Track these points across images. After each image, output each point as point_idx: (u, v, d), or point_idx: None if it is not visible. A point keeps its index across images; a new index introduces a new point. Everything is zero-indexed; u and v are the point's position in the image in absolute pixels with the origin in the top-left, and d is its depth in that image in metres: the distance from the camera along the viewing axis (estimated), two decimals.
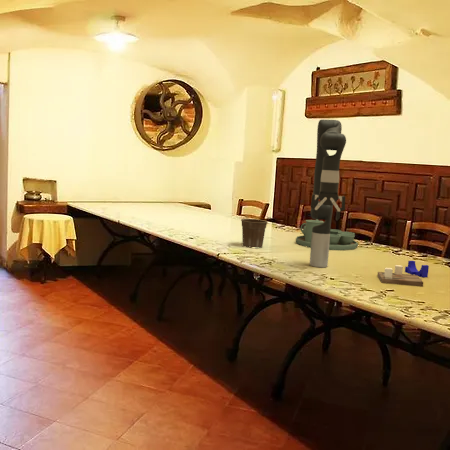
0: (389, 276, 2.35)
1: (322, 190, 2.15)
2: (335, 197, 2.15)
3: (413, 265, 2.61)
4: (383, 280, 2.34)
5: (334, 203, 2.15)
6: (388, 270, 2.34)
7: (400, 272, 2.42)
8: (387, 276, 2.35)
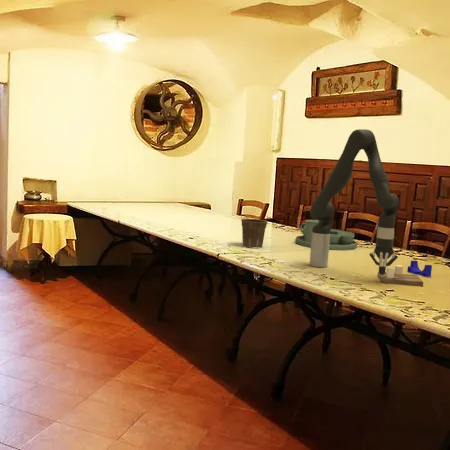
0: (391, 276, 2.35)
1: (378, 246, 2.33)
2: (390, 252, 2.34)
3: (415, 265, 2.62)
4: (383, 280, 2.34)
5: (386, 258, 2.34)
6: (390, 270, 2.34)
7: (400, 272, 2.42)
8: (389, 276, 2.35)
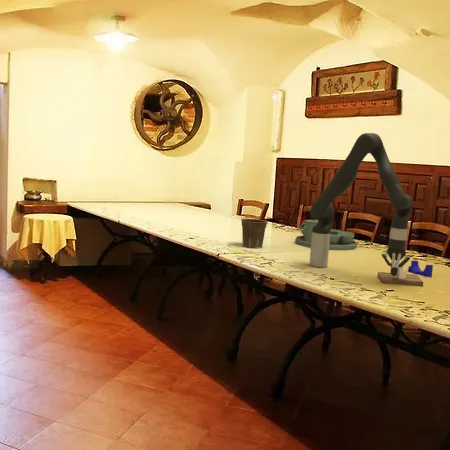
0: (403, 277, 2.34)
1: (391, 246, 2.32)
2: (403, 253, 2.33)
3: (416, 265, 2.62)
4: (383, 280, 2.34)
5: (398, 259, 2.33)
6: (402, 271, 2.34)
7: None
8: (401, 277, 2.34)
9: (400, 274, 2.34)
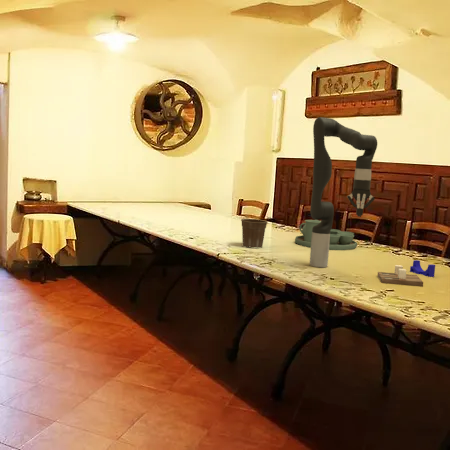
0: (403, 277, 2.34)
1: (356, 187, 2.34)
2: (367, 193, 2.35)
3: (418, 264, 2.63)
4: (383, 280, 2.34)
5: (363, 200, 2.35)
6: (402, 271, 2.34)
7: None
8: (401, 277, 2.34)
9: (400, 274, 2.34)
